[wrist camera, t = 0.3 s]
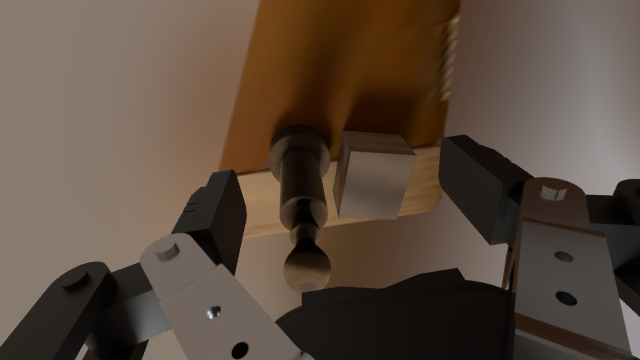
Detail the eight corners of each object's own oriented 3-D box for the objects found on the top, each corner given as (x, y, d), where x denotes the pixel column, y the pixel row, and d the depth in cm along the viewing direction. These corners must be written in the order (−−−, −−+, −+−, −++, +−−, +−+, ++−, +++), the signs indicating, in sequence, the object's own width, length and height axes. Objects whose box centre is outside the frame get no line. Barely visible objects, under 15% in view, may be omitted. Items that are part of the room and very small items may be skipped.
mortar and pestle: (318, 182, 36) (340, 324, 20) (264, 171, 34) (244, 315, 19) (335, 132, 32) (378, 257, 17) (277, 117, 31) (265, 239, 16)
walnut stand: (342, 130, 32) (351, 151, 28) (400, 134, 33) (416, 155, 29) (332, 191, 36) (338, 217, 32) (383, 193, 37) (396, 219, 33)
